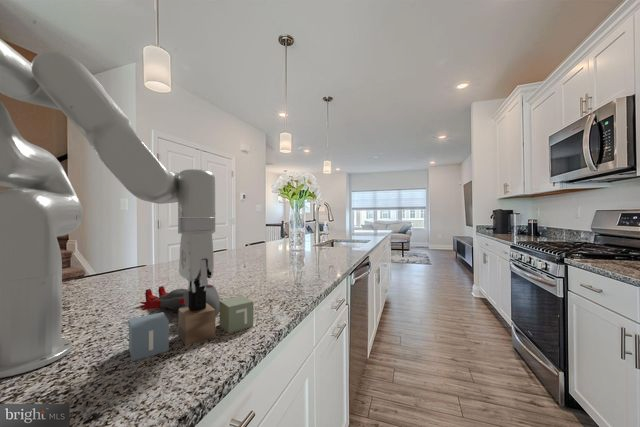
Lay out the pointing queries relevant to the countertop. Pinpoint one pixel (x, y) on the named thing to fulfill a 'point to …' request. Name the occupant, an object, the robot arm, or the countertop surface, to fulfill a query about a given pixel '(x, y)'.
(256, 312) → the countertop surface
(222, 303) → the olive block
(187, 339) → the walnut block
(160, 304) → the toy
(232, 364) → the countertop surface
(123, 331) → the countertop surface
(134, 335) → the slate block
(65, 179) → the robot arm
